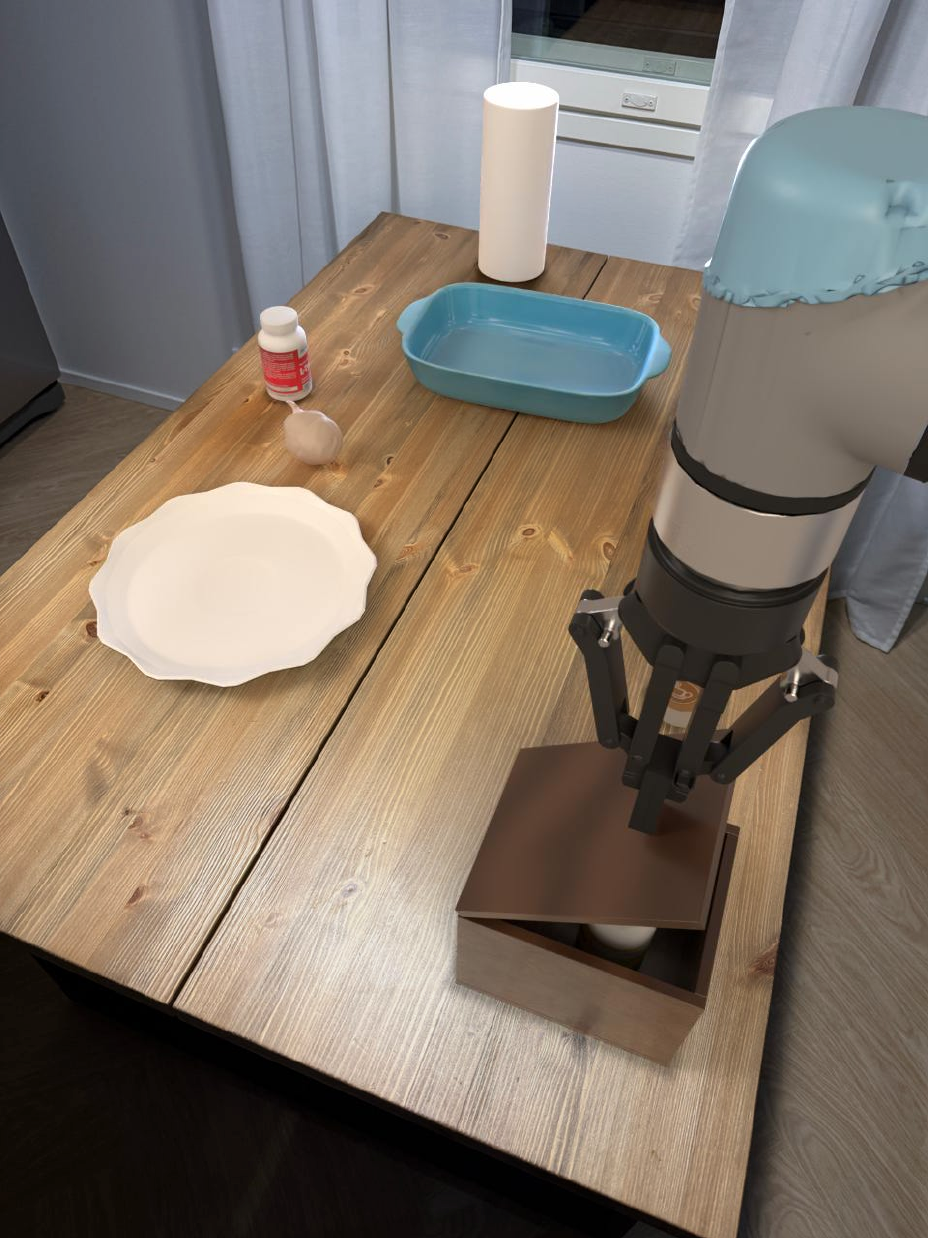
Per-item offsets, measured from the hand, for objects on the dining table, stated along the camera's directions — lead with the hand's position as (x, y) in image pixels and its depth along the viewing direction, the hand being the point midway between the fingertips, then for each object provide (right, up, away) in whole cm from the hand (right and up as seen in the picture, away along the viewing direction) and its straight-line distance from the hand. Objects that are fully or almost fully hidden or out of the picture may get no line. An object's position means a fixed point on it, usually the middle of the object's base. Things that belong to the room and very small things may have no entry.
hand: (644, 812), depth 55 cm
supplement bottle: (0, -14, +16) cm, 21 cm away
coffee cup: (+10, +4, +32) cm, 34 cm away
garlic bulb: (-30, +32, +56) cm, 71 cm away
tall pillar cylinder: (-4, +69, +89) cm, 113 cm away
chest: (-2, -14, +17) cm, 22 cm away
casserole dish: (-2, +45, +68) cm, 82 cm away
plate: (-36, +15, +42) cm, 57 cm away
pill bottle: (-35, +43, +66) cm, 86 cm away
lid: (-2, -2, +3) cm, 4 cm away
